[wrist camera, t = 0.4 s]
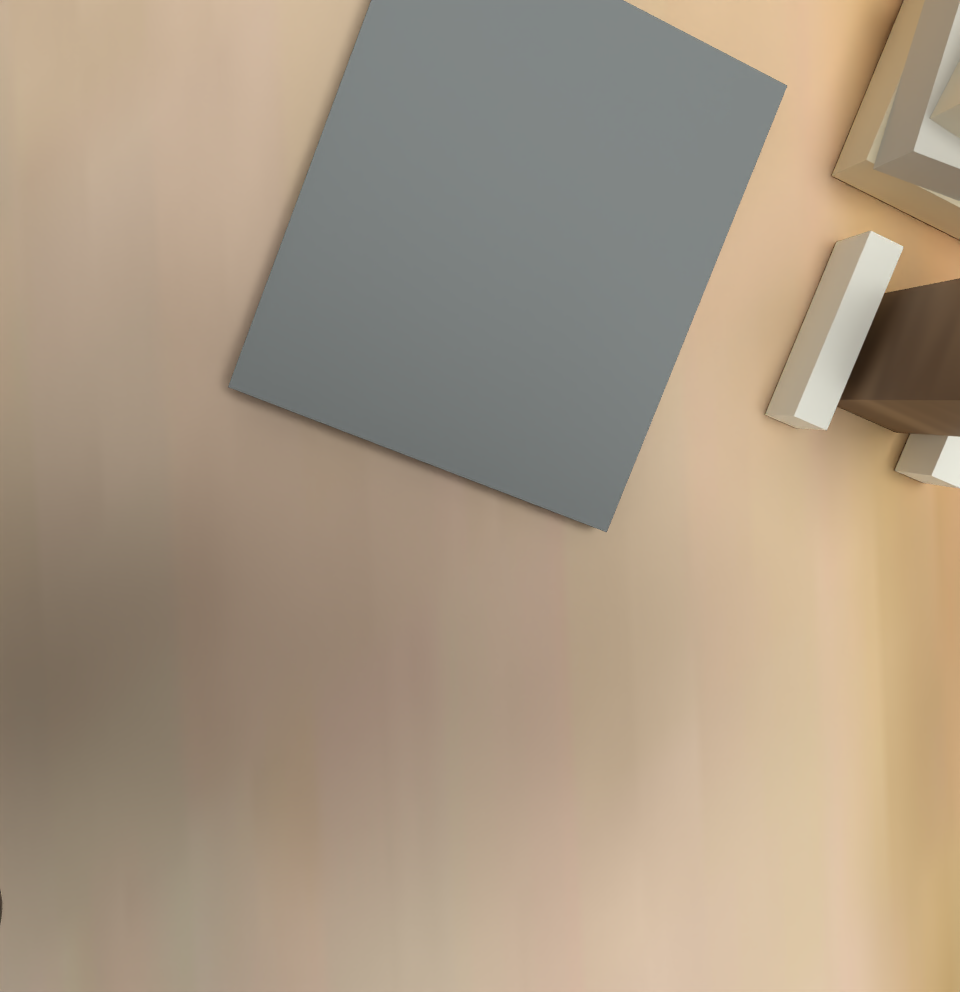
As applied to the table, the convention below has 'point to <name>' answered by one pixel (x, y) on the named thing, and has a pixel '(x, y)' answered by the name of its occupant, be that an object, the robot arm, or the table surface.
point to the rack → (869, 256)
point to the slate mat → (508, 239)
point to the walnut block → (911, 363)
